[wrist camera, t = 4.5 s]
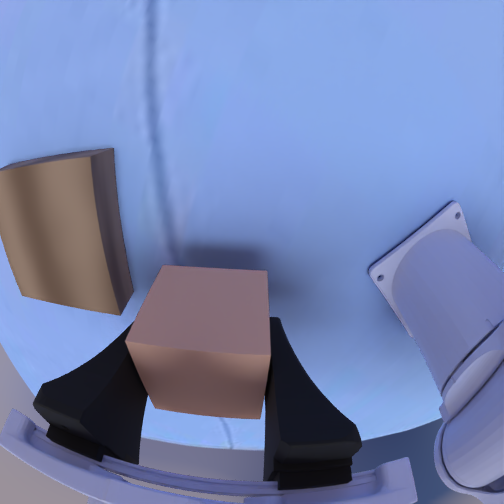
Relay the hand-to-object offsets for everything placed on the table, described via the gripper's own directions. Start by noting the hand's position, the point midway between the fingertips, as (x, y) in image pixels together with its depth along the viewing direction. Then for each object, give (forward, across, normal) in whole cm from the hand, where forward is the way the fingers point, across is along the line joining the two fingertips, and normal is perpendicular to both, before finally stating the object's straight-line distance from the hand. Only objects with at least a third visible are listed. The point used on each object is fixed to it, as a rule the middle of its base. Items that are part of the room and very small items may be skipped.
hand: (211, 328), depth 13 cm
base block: (+5, +11, -3) cm, 13 cm away
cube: (+2, 0, 0) cm, 2 cm away
